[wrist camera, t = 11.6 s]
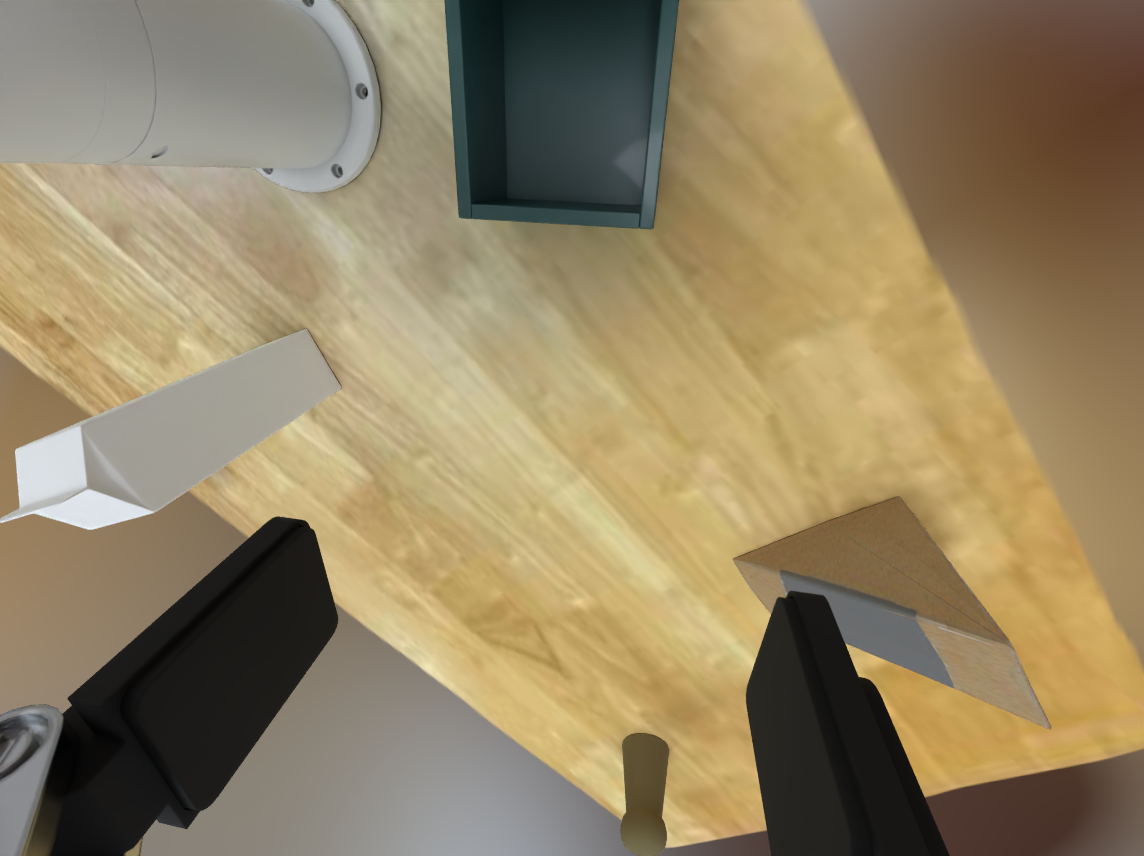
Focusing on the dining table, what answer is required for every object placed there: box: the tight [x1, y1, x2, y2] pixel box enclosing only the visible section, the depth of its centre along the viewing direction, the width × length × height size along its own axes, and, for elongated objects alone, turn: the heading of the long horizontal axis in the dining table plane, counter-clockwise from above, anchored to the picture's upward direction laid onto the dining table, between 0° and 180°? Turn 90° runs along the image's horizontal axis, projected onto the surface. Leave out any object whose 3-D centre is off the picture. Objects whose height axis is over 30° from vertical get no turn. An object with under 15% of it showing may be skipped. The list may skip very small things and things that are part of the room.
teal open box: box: [445, 0, 679, 229], centre depth 27 cm, size 14×11×8 cm
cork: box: [620, 734, 669, 856], centre depth 58 cm, size 6×6×11 cm
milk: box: [0, 329, 341, 530], centre depth 34 cm, size 6×6×22 cm
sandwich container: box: [733, 497, 1051, 730], centre depth 38 cm, size 9×15×15 cm, turn 126°
